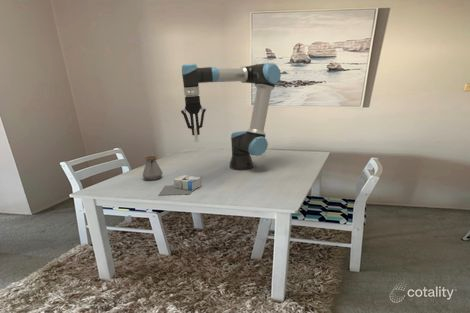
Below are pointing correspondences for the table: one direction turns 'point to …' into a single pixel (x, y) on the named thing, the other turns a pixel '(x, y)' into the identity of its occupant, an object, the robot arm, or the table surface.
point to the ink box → (187, 182)
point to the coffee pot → (152, 169)
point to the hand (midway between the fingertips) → (196, 141)
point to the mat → (174, 191)
